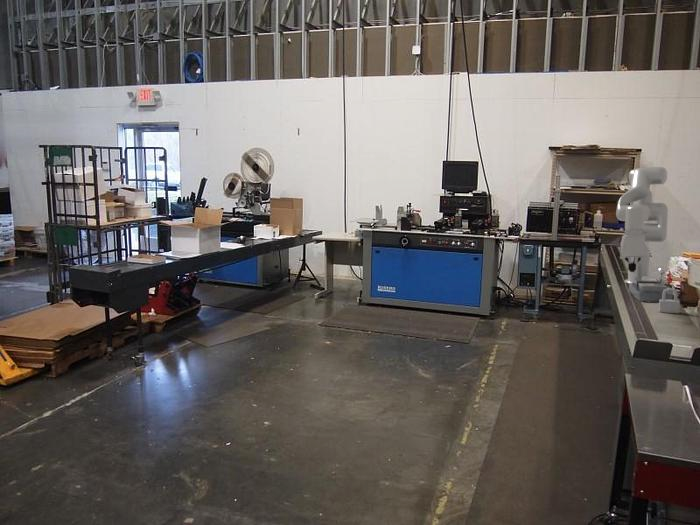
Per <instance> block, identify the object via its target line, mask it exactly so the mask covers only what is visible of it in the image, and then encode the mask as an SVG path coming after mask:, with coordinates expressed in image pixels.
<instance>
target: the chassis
mask: <svg viewBox="0 0 700 525" xmlns="http://www.w3.org/2000/svg"><path fill="white" fill-rule="evenodd" d="M665 289H668V286H666V284H665V283H664V284H661V282H660V281H659V278H649V279H638V278H634V283H632V282H629V284H628V291H629V292H630V293H631V294H632V295H633V297H635V299H636V298H637V299H638V300H639V301H650V302H649V303H659V300H660V299H662V294H663V291H664V290H665ZM637 299H636V300H637ZM666 299H667V300H673V293H672V291H667V292H666V295H665V300H666ZM638 300H637V301H638ZM639 301H638V302H639Z"/></svg>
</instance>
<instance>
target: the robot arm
mask: <svg viewBox="0 0 700 525" xmlns="http://www.w3.org/2000/svg"><path fill="white" fill-rule="evenodd" d="M667 180H668V171H667V169H666V168H665V167H662V166H653V167H652V166H651V167H650V166H649V167H648V166H647V167H646V166H645V167H639V168H634V169H631V170H630V171H629V173H628V181H629V185H630V186H629V187H630V188H629V190H627V191H626V192H625V193H623V194H622V195H621V196H620V198H619V199H618V201H617V204H616V205H617V206H616V210H615V211H616V212H615V216H616V218H617V220H618V221H621V222H624V234H623V235H622V237H621V240H620V241H621V242H620V251H619V253H620V256H619V259H620V260H625V261H626V262H627V264H628V266H627V268H628V271H627V278H626V279H625V280H624V283H625V284H627V285H629V282H632V283H634V278H638V279H642V276H644V275H646V274H649V273H650V256H651V251H650V248H649V246H648V245H647V244H646V243H663V242H665V241H666V238H667V233H668V218H669V214H668V212H669V210H668V206H667V204H665V203H663V202H653V192H652V191H651V190H650V189H651V187H650V186H651V185H655V186H656V185H664V184H665V183H666V182H667ZM632 203H633V204H632ZM646 222H647V223H646ZM648 222H656V223H648ZM648 279H650V278H648Z"/></svg>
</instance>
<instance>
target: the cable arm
mask: <svg viewBox="0 0 700 525" xmlns="http://www.w3.org/2000/svg"><path fill="white" fill-rule="evenodd" d="M666 272H667V268H666V267H665V268H664V267H658V268H657V270H654V271H651V272H649V274H646V275H644V276H642V279H648V278H649V279H651V278H652V277H654V276H657V275H658V280H659V281H660V282H661V284H664V285H665V274H666Z"/></svg>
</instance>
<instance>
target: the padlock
mask: <svg viewBox="0 0 700 525" xmlns="http://www.w3.org/2000/svg"><path fill="white" fill-rule="evenodd" d="M667 291H669V292H671V293H672V292H673V294H674V295H673V299H672V300H667V299H666V300H665V295H666V292H667ZM680 303H681V302H680V300H679V299H678V291H677V290H676V289H675V288H668V287H667V289H665V290H664V291H663V294H662V299H660V300H659V302H658V305H659V306H658V311H659V313H666V314H667V313H669V314H680V305H681V304H680Z"/></svg>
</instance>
